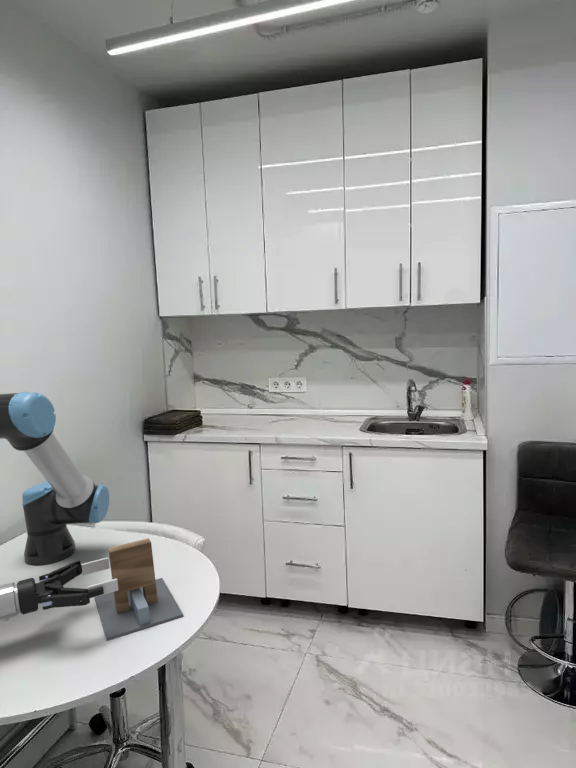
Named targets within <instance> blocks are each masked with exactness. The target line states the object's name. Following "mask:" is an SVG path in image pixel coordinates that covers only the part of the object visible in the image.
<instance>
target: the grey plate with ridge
mask: <svg viewBox="0 0 576 768" xmlns="http://www.w3.org/2000/svg"><path fill="white" fill-rule="evenodd" d="M155 580H156V589H157V598H158V602H155V603H152V604H149V605H148V604H147V602H146V600H145V598H144V595H143V587H141V588H138V589H134V590H131V591H127V593H128V601H129V609H130V610H129V611H125V612H122V613H119V614H118V613H117V610H116V606H115V598H114V592H111V593H108V594H104V595H101V596H97V597H94V600H95V605H96V607H97V611H98V614H99V619H100V622H101V626H102V628H103V633H104V637H105V639H106V641H110V640H113V639H117V638H120V637H123V636H125V635H129V634H133V633H136V632H139V631H143V630H146V629H148V628H152V627H154V626H157V625H161V624H164V623H168V622H171V621H174V620H177V619H180V618H184V613H183V611H182V609H181V608H180V606H179V605H178V602H177V601H176V599H175V597H174V595H173V594H172V592H171V590H170V588H169V587H168V585H167V583H166V581H165V580H164V579H163V577H160V578H155Z"/></svg>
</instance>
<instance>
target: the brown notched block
mask: <svg viewBox="0 0 576 768" xmlns="http://www.w3.org/2000/svg"><path fill="white" fill-rule="evenodd" d="M151 541H152V540H150V538H149V537H148V538H143V539H140V540H136V541H135V540H134V541H132V542H126V543H123V544H120V545H114V546H111V547H108V548H107V550H108V559H109V567H110V573H111V580H112V579H116V578H117V582H118V591H115V592H114V598H115V606H116V610H117V613H118V614H119V613H122V612H125V611H129V610H130V609H129V601H128V593H127V591H131V590H134V589H138V588H141V587H143V595H144V598H145V600H146V602H147V604H148V605H149V604H152V603H155V602H158V598H157V589H156V575H155V574H156V573H155V565H154V555H153V547H152V546H153V545H152V542H151Z"/></svg>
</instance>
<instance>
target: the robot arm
mask: <svg viewBox="0 0 576 768" xmlns="http://www.w3.org/2000/svg"><path fill="white" fill-rule="evenodd" d="M54 412H55V407H54V405H53V403H52V401H51V400H50V399H49V398H48V397H47V395H46V396H45V395H44V394H42V393H40V392H31V391H20V392H10V393H0V440H2V439H4V440H7V442H8V443H9V444H10V445H11V446H12V448H13V449H14V450H16V451H18V452H24V453H25V454H26V456H27V457H28V459H30V461H31V463H33V465H34V466H35V467H36V469H37V470H38V472H40V474H41V475H42V476H43V477H44V479H45V480H46V482H42V483H38V484H36V485H32V486H31V487H28V488H26V489H25V490H24V491H23V492H22V495H21V497H22V504H21V505H22V508H23V514H24V521H25V526H26V534H27V538H26V543H25V546H24V553H23V557H24V561H25V563H26V564H28V565H32V566H41V565H48V564H52V563H57V562H59V561H60V562H61V561H63V560H65V559H67V558H68V557H70V556H72V555H73V554H74V553H75V552H76V548H77V547H76V542H75V540H74V538H73V536H72V534H71V532H70V531H69V529H68V525H70V524H71V525H75V524H76V525H79V524H80V525H83V524H84V525H85V524H86V525H87V524H88V525H92V524H98V523H101V522H102V521H103V520H105V518H106V517H107V515H108V511H109V506H110V493H109V492H110V491H109V488H108V486H107V485H105V484H104V485H103V484H98V485H97V484H95V482H94V481H93V480H92V478H90V476H87V475H84V474H82V472H81V471H80V470H79V469H78V467H77V466H76V464H75V463H74V461H73V460H72V458H71V457H70V456H69V455H68V452H67V451H66V450H65V448H64V447H63V446H62V444H61V443H60V441H59V440H58V439H57V437H56V436H55V434H54V430H55V425H56V417H57V415H56V414H55V413H54ZM109 569H110V559H109V556H107V557H103V558H100V559H96V560H92V561H88V562H84V563H82V561H81V560H75V561H73V562H70V563H68V564H66V565H64V566H62V567H60V568H58V569H56V570H53V571H51V572H49V573H46V574H42V575H39V576H38V579H39V580H38V581H39V582H36V580H35V578H34V577H29V578H26V579H22V580H18V581H17V583H16V584H15V582H10V583H9V582H8V583H7V584H6V583H5V584H1V585H0V622H1V621H9V619H11V618H16V617H17V616H19V613H20V614H21V615H27V614H30V613H31V614H32V613H34V612H37V611H38V610H39V604H41V607H42V610H44V611H46V610H50V609H55V608H69V607H80V606H81V607H82V606H87V605H89V604H90V602H91V600H90V599H93V598H95V597H97V596H101V595H104V594H108V593H111V592H115V591H118V582H117V578H116V579H112V578H111V579H110V580H105V581H102V582H98V583H95V584H91V585H88V586H87V588H80V587H79V588H78V587H65V586H64V585H66V584H68V583H69V582H71V581H72V580H74V579H75V578H77V577H79V576H80V575H82V576H85V575H90V574H93V573H97V572H100V571H101V572H102V571H104V570H109Z"/></svg>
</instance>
